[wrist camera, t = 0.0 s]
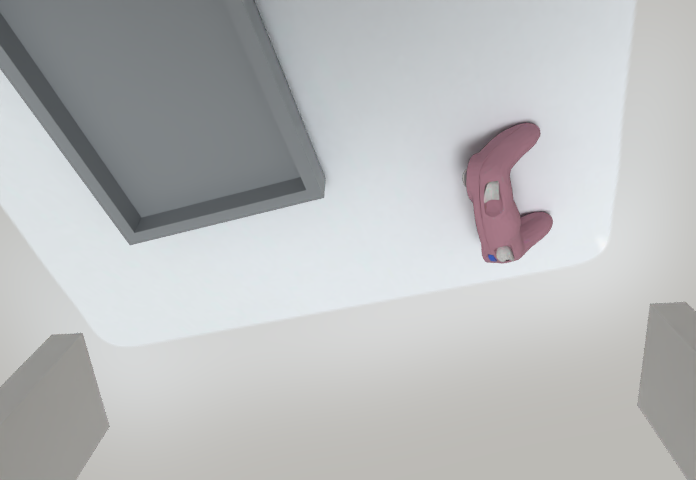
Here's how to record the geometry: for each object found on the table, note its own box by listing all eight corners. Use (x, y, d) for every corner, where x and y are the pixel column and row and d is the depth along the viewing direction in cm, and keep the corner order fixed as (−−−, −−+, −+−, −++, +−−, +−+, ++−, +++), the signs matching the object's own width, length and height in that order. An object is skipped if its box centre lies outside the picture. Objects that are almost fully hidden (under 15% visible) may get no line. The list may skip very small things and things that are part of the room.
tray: (-35, -24, 34) (-58, -11, 33) (207, -115, 31) (198, -106, 29) (139, 224, 47) (129, 245, 45) (325, 177, 44) (323, 197, 42)
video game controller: (478, 117, 42) (446, 177, 38) (542, 115, 40) (515, 179, 35) (500, 218, 48) (474, 279, 44) (556, 221, 46) (535, 286, 42)
